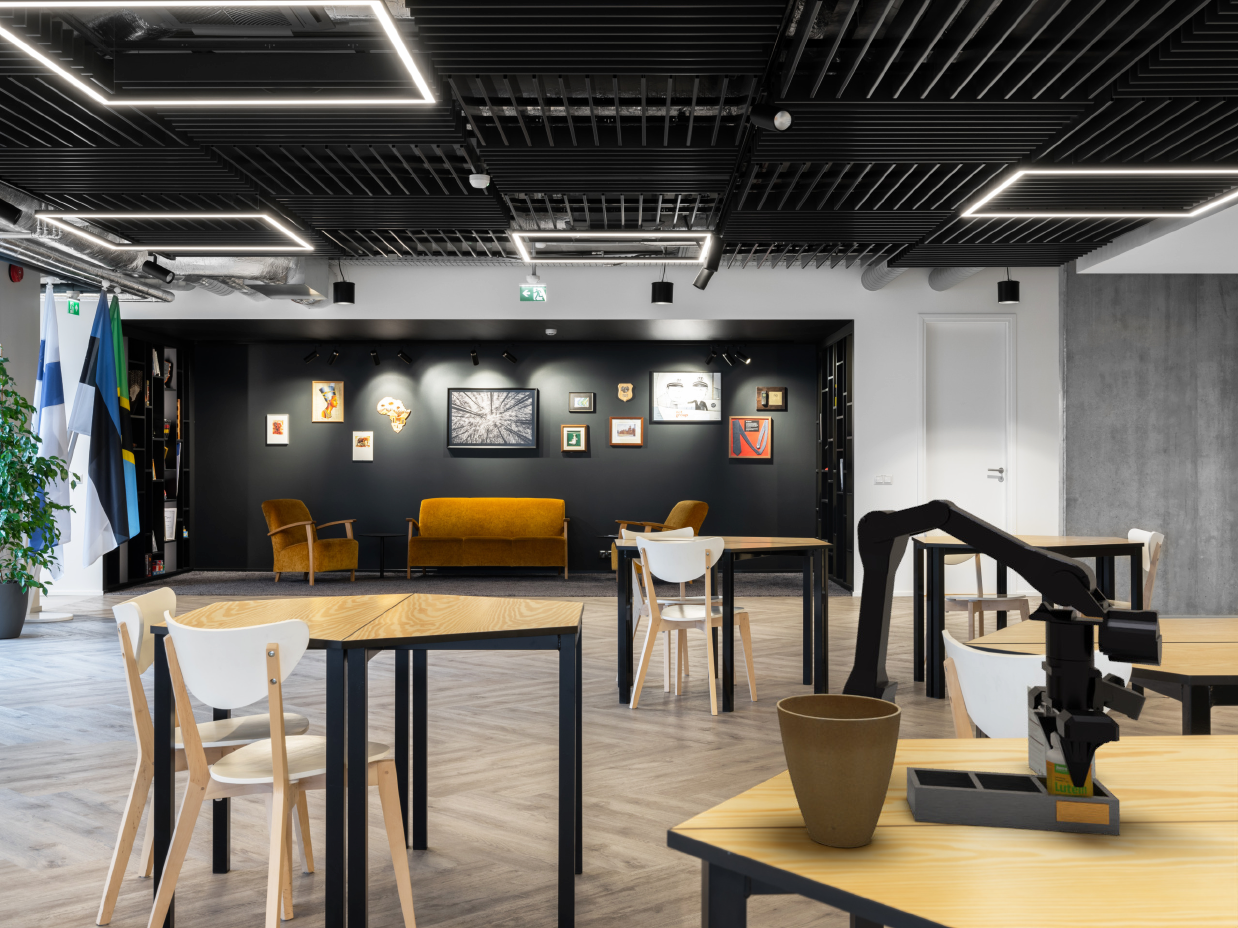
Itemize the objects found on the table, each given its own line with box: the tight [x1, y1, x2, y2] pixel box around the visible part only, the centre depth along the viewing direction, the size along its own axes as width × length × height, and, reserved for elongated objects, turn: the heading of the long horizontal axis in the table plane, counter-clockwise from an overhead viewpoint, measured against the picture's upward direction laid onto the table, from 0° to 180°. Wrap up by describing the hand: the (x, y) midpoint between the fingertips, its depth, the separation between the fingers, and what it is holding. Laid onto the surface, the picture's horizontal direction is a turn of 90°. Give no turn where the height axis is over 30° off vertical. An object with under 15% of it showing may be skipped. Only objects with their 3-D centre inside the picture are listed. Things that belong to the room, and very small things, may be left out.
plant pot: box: [776, 693, 902, 848], centre depth 113 cm, size 15×15×16 cm
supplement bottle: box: [1046, 732, 1093, 796], centre depth 119 cm, size 5×5×10 cm
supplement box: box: [1026, 685, 1097, 779], centre depth 139 cm, size 7×7×13 cm
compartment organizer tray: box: [906, 766, 1121, 836], centre depth 120 cm, size 24×9×4 cm, turn 79°
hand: (1070, 778), depth 119 cm, fingers open, 6 cm apart
